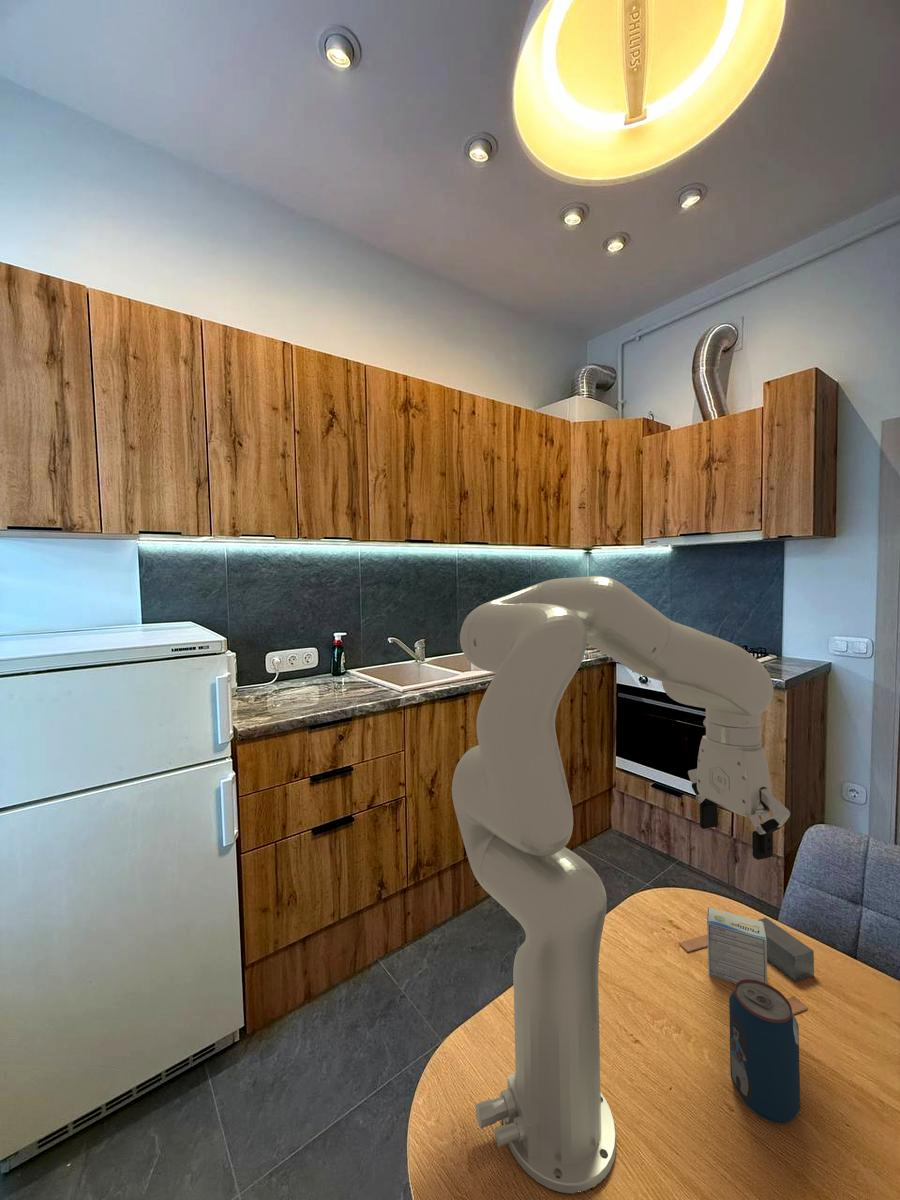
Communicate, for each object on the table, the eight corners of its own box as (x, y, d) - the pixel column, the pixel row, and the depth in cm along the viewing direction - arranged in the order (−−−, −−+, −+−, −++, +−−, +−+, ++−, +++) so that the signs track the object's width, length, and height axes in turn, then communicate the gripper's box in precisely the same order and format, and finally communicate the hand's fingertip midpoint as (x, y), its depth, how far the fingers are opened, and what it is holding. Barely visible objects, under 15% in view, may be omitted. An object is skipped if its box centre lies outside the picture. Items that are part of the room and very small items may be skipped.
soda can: (808, 1102, 55) (806, 1001, 55) (789, 1146, 51) (787, 1036, 51) (743, 1057, 60) (741, 966, 60) (721, 1093, 56) (719, 995, 56)
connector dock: (766, 1025, 65) (765, 996, 65) (678, 944, 80) (678, 921, 80) (842, 996, 69) (841, 969, 69) (745, 925, 84) (745, 903, 84)
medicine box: (765, 975, 73) (764, 920, 73) (768, 996, 69) (767, 939, 69) (708, 957, 77) (707, 905, 77) (708, 976, 73) (707, 921, 73)
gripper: (672, 722, 81) (673, 820, 81) (766, 752, 64) (767, 876, 64) (706, 718, 83) (707, 814, 83) (805, 747, 66) (807, 867, 66)
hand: (734, 841), depth 73 cm, fingers open, 9 cm apart
